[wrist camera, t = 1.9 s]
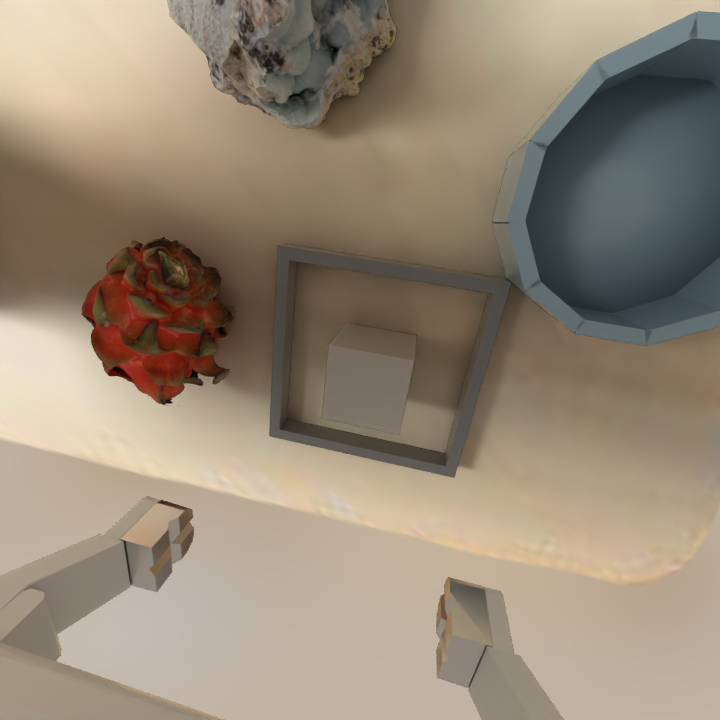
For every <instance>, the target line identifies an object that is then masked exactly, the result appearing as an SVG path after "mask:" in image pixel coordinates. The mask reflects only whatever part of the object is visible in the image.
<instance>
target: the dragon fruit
mask: <svg viewBox="0 0 720 720" xmlns="http://www.w3.org/2000/svg"><path fill="white" fill-rule="evenodd" d="M106 268H107V275H106V276H105V278H104V279H103V280H101V281H99V282H98V283H96V284H95V285H94V286H93V287H92V288H91V290H90V291H89V293H88V294H87V296H86V299H85V302H84V304H83V307H82V315H83V316H84V317H85V318H86V319H87V320H88V321H89V322H90V323H92V325H93V327H94V329H93V331H92V334H91V343H92V346H93V348H94V351H95V352H96V354H97V356H98V358H99V359H100V360H101V361H102V364H103V367H104V370H105V372H106V373H107V374H108V375H109V376H119V377H122V378H124V379H126V380H128V381H130V382H133V383H134V384H135V386H136V387H137V388H138V390H140V391H141V392H143V393H145V394H148V395H149V396H151V397H152V398H153V399H154V400H155V401H156V402H157V403H159V404H163V405H165V404H166V403H169V404H170V403H172V402H171V400H172V399H171V398H173V397H175V396H177V395H178V394H180V393H181V392H182V391H183V390H184V384H183V383H191V384H196V385H200V386H203V381H202V380H201V379H199V378H198V373H200V374H202V375H204V376H208V377H215V378H214V380H213V384H217V383H219V382H220V381H221V380H223V379H224V378H225V377H226V376H227V375H228V373H229V371H230V370H229V369H224V368H221V367H219V366H218V365H217V364H216V363H215V361H214V358H213V356H212V353H216V352H217V351H218V344H217V341H216V338H222V337H225V336H227V335H228V331H229V329H228V328H227V324H228V323H230V322H231V321H232V320H233V319H234V315H235V309H234V306H230V305H228V306H226V307H224V306H223V305H221V304H220V303H219V302H218V301H216V299H215V296H216V295H217V293H218V291H219V289H220V283H221V277H220V274H219V272H218V271H217V269H216V268H212V267H205V266H203V265H202V264H201V260H200V258H199V257H198V256H196V255H195V254H193V253H192V251H191V250H190V249H189V248H187V247H186V246H185V245H184V244H181V243H179V242H178V241H177V240H175V241H173V242H170V241H169V240H167V239H165V238H164V237H163V238H161V239H156V240H152V241H149V242H147V243H145V244H144V245H142V244H141V243H138V242H137V241H132V243H131V246H130V247H127V248H125V249H123V250H121V251H120V252H119V253H118V254H117V255H116V256H115V257H114V258H113V259H111V261H110V262H109V263H108V264H107V266H106Z"/></svg>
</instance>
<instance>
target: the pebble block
mask: <svg viewBox="0 0 720 720" xmlns="http://www.w3.org/2000/svg"><path fill="white" fill-rule="evenodd" d="M416 339H417V335H411V334H406V333H400V332H394V331H389V330H383V329H378V328H372V327H367V326H361V325H356V324H350V323H346V324H345V326H344V327H343V328H342V329H341V330H340V332H339V333H338V334H337V335H336V337H335V338H334V339H333V340H332V342H331V343H330V344H329V349H328V358H327V368H326V377H325V387H324V396H323V406H322V415H321V418H322V419H327V420H331V421H336V422H341V423H345V424H350V425H355V426H359V427H364V428H369V429H374V430H378V431H383V432H388V433H392V434H397V435H399V433H400V428H401V423H402V419H403V414H404V409H405V404H406V399H407V394H408V389H409V384H410V380H411V375H412V370H413V365H414V359H415V349H416Z"/></svg>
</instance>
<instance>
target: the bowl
mask: <svg viewBox="0 0 720 720" xmlns="http://www.w3.org/2000/svg"><path fill="white" fill-rule="evenodd" d="M492 222H494V223H492V226H493V229H494V233H495V236H496V240H497V244H498V247H499V251H500V255H501V258H502V262H503V265H504V269H505V273H506V276H507V279H509V280H510V281H511V282H512V283H513V284H514V285H516V286H517V287H518V288H519V289H520V290H521V291H522V292H524V293H525V294H526V295H527V296H528V297H529V298H531V299H532V300H533V301H534V302H535V303H536V304H538V305H539V306H540V307H541V308H542V309H543V310H544V311H546V312H547V313H548V314H549V315H551V316H552V317H553V318H554V319H556V320H557V321H558V322H560V323H561V324H562V325H564V326H565V327H566V328H567V329H569V330H570V331H571V332H573V333H575V334H578V335H584V336H590V337H596V338H602V339H607V340H613V341H619V342H625V343H631V344H636V345H642V346H645V345H646V346H649V345H652V344H656V343H660V342H663V341H667V340H671V339H675V338H678V337H682V336H686V335H690V334H693V333H697V332H701V331H705V330H708V329H712V328H716V327H719V326H720V13H716V12H702V11H698V12H697V13H696V12H694V13H692V14H690V15H688V16H686V17H684V18H682V19H680V20H678V21H676V22H674V23H672V24H670V25H668V26H666V27H664V28H662V29H660V30H657V31H655V32H653V33H651V34H649V35H647V36H645V37H643V38H641V39H639V40H637V41H635V42H633V43H631V44H629V45H627V46H625V47H623V48H621V49H618V50H616V51H614V52H612V53H610V54H608V55H606V56H604V57H602V58H600V59H598V60H597V61H596V62H594V63H593V64H592V65H591V66H590V67H589V68H588V69H587V70H586V71H585V72H584V73H583V74H582V75H581V76H580V77H579V78H578V79H577V80H575V81H574V82H573V83H572V84H571V85H570V86H569V87H568V88H567V89H566V90H565V91H564V92H563V93H562V94H561V95H560V96H559V97H558V98H557V99H556V101H555V102H554V103H553V104H552V105H551V107H550V108H549V109H548V110H547V111H546V113H545V114H544V115H543V116H542V117H541V119H540V120H539V121H538V122H537V123H536V125H535V126H534V127H533V128H532V129H531V131H530V132H529V133H528V134H527V135H526V137H525V138H524V139H523V140H522V141H521V143H520V144H519V145H518V146H517V147H516V149H515V150H514V151H513V152H512V153H511V155H510V156H509V158H508V161H507V165H506V169H505V173H504V177H503V181H502V185H501V189H500V193H499V196H498V200H497V204H496V208H495V212H494V216H493V220H492Z"/></svg>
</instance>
